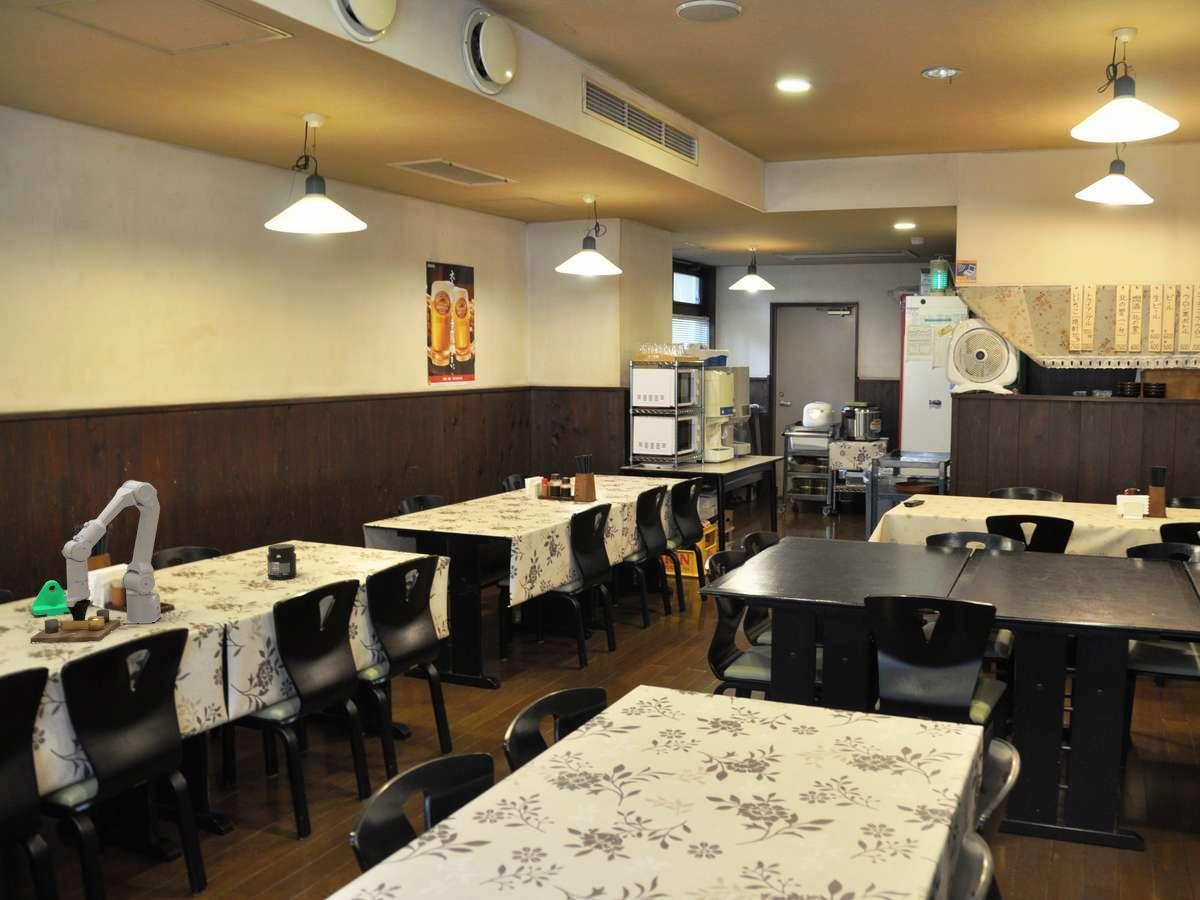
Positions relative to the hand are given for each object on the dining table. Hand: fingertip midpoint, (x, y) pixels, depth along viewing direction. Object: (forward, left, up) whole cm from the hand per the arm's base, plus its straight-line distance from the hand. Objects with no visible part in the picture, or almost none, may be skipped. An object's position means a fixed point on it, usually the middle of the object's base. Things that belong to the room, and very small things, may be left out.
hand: (79, 624), depth 325 cm
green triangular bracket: (+17, -26, -3) cm, 31 cm away
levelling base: (0, +1, -2) cm, 3 cm away
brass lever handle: (-2, +2, -1) cm, 3 cm away
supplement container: (-47, -74, -3) cm, 87 cm away
